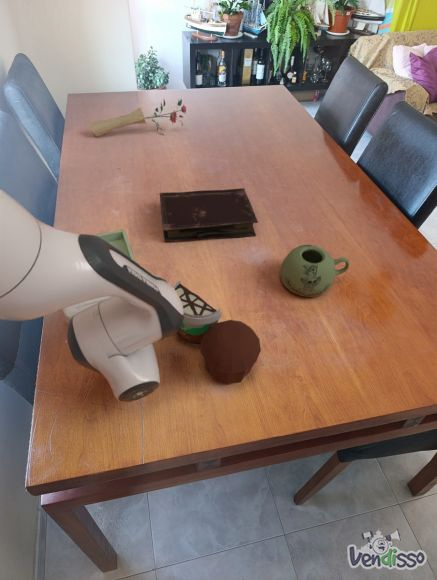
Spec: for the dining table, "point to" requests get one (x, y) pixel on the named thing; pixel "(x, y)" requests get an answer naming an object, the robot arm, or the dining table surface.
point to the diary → (207, 215)
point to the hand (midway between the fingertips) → (108, 274)
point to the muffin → (230, 351)
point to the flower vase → (132, 120)
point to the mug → (310, 270)
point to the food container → (195, 315)
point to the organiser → (118, 241)
